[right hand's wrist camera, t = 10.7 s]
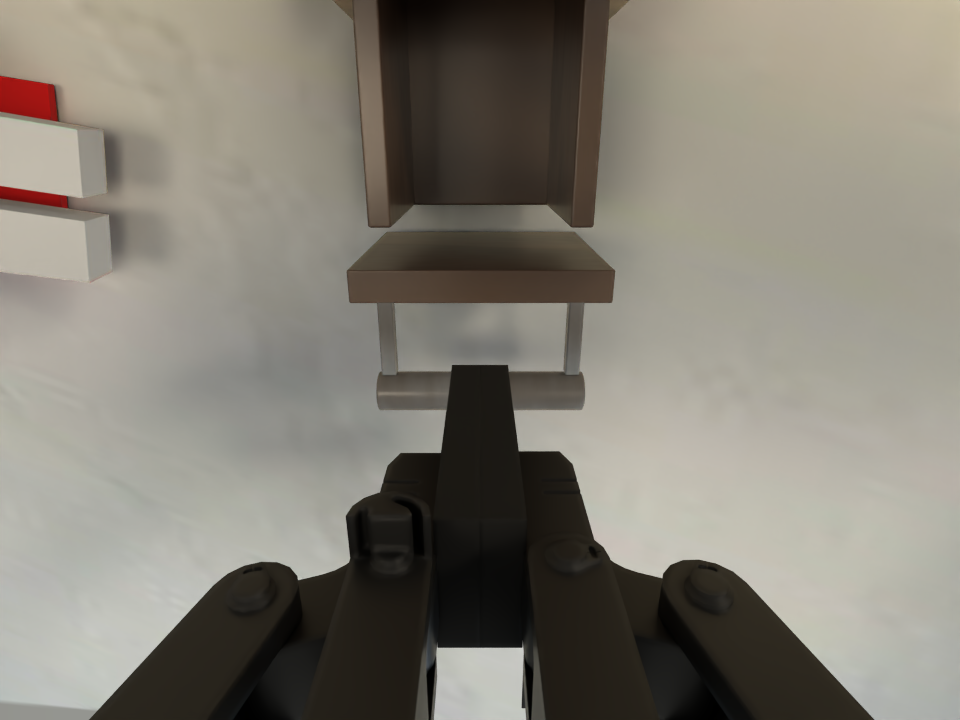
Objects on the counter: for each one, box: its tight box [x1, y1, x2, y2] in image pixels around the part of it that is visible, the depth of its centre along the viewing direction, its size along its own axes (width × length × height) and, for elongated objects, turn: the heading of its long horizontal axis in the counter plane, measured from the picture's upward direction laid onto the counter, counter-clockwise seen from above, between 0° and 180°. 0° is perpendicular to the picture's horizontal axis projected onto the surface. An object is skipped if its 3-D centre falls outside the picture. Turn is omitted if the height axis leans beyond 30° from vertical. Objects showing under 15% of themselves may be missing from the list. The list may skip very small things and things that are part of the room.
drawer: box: [347, 0, 615, 410], centre depth 22 cm, size 21×10×9 cm, turn 0°
